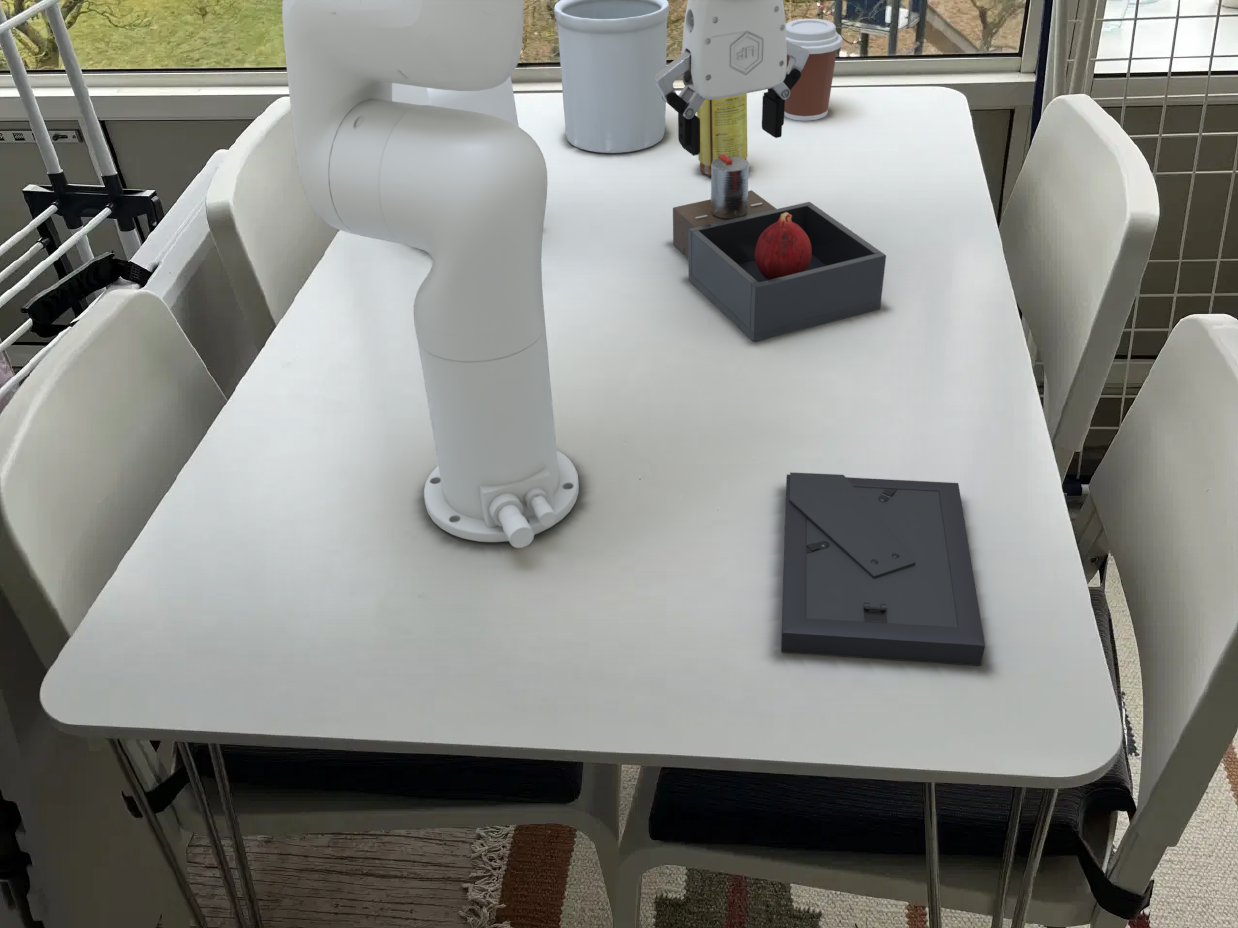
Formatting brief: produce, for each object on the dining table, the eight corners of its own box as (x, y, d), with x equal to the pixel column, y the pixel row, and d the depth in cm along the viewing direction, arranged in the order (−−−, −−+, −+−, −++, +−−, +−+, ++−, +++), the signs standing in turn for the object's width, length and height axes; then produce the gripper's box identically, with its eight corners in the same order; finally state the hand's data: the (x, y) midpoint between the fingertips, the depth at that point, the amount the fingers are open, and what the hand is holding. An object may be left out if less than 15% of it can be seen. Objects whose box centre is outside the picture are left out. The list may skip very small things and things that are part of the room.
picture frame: (785, 492, 92) (780, 652, 78) (786, 470, 91) (782, 629, 77) (955, 501, 90) (981, 666, 76) (959, 479, 89) (986, 642, 75)
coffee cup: (770, 123, 159) (774, 35, 151) (774, 101, 166) (777, 16, 159) (836, 124, 157) (843, 35, 150) (837, 102, 164) (844, 16, 157)
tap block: (785, 254, 126) (787, 215, 123) (705, 273, 123) (705, 234, 120) (750, 226, 132) (751, 188, 130) (672, 244, 129) (672, 205, 127)
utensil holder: (604, 110, 166) (598, -17, 155) (690, 128, 158) (690, -4, 148) (541, 143, 156) (530, 10, 146) (630, 163, 149) (625, 25, 139)
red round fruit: (807, 300, 115) (812, 228, 111) (750, 297, 116) (753, 225, 112) (811, 274, 120) (815, 203, 115) (756, 271, 121) (759, 201, 116)
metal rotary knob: (753, 214, 124) (755, 163, 121) (721, 221, 123) (722, 170, 120) (736, 201, 127) (737, 151, 124) (704, 208, 126) (704, 158, 122)
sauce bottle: (755, 166, 147) (760, 6, 135) (732, 183, 142) (735, 19, 131) (710, 157, 149) (711, 0, 138) (687, 174, 145) (686, 13, 133)
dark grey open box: (880, 309, 115) (886, 255, 112) (753, 342, 111) (755, 287, 108) (806, 252, 126) (809, 201, 123) (688, 280, 122) (688, 228, 119)
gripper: (669, -6, 105) (673, 170, 115) (831, -33, 110) (820, 138, 120) (637, -24, 111) (642, 146, 121) (792, -49, 116) (785, 116, 126)
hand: (731, 142), depth 121 cm, fingers open, 9 cm apart
